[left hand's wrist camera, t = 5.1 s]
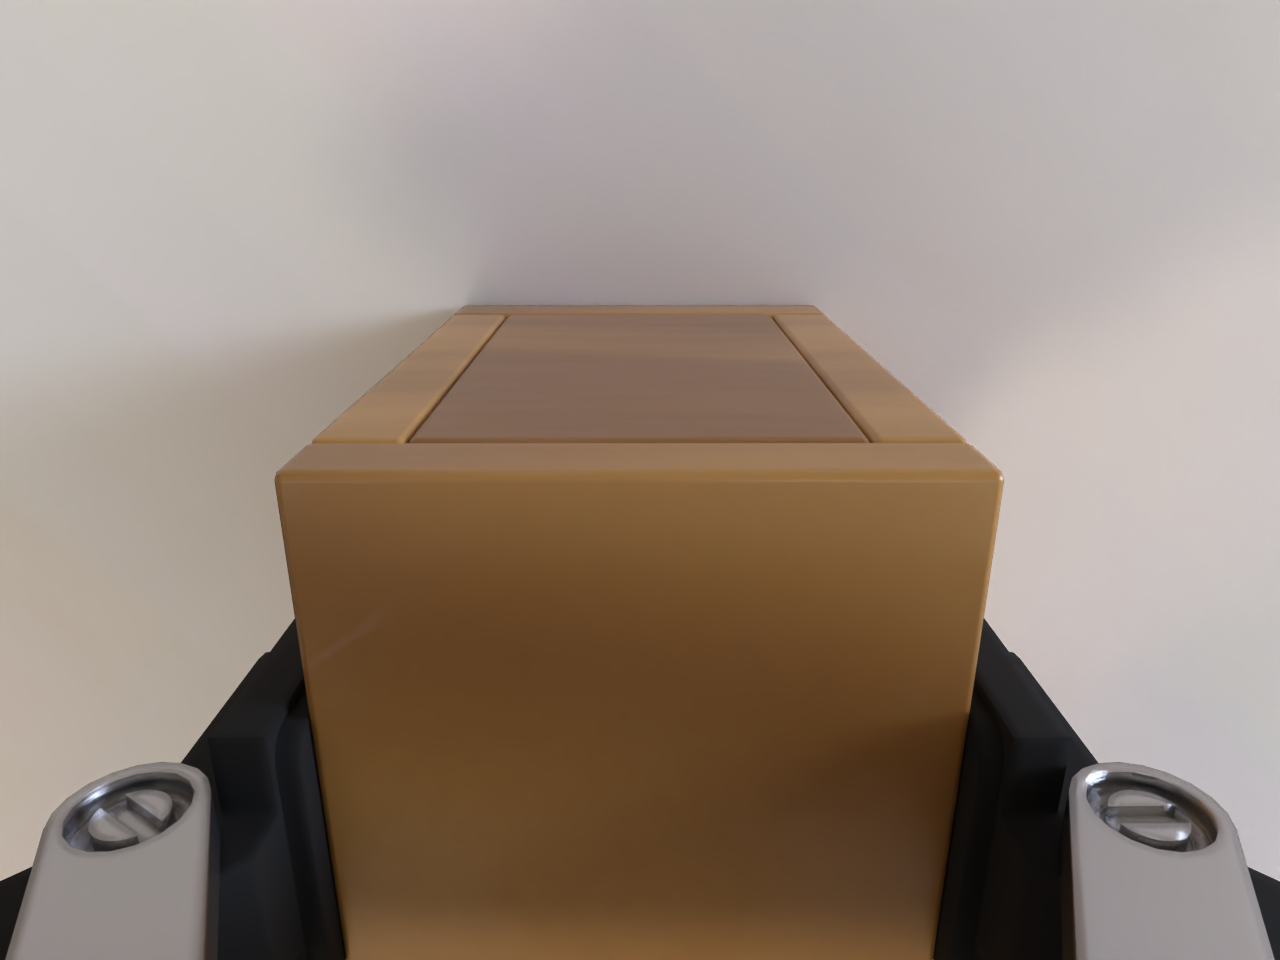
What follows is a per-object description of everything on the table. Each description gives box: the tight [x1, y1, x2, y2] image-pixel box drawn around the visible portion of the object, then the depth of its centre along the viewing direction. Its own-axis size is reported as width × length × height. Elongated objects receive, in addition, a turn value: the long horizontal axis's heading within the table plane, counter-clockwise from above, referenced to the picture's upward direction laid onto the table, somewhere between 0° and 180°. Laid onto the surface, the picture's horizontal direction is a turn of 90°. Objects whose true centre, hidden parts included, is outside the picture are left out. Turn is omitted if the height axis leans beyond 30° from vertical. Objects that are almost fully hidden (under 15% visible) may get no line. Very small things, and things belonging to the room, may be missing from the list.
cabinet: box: [275, 306, 1004, 960], centre depth 15 cm, size 20×6×9 cm, turn 0°
